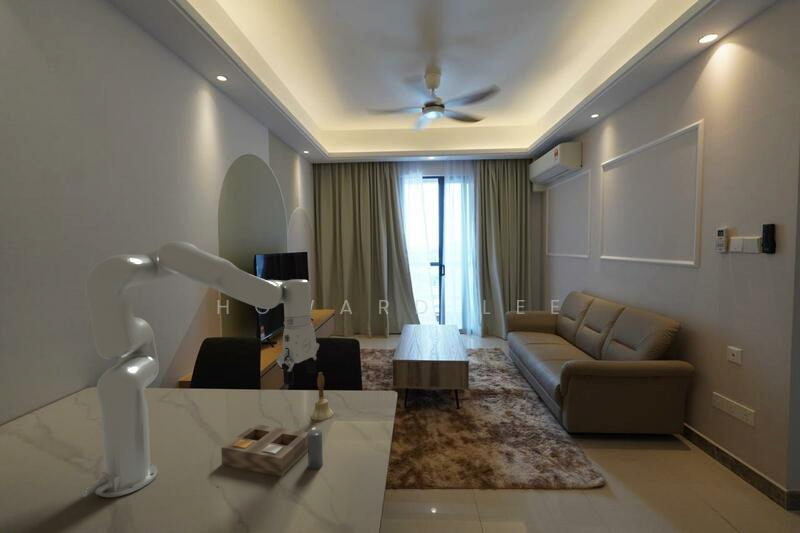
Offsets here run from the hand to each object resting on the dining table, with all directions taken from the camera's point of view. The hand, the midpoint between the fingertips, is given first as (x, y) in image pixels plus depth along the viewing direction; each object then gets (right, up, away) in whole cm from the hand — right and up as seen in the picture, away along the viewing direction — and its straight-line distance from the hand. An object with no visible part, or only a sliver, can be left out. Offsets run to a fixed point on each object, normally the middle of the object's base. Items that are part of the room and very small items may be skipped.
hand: (300, 378), depth 103 cm
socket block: (-9, -23, -1) cm, 25 cm away
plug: (+6, -23, -6) cm, 24 cm away
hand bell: (+1, -22, +25) cm, 34 cm away
